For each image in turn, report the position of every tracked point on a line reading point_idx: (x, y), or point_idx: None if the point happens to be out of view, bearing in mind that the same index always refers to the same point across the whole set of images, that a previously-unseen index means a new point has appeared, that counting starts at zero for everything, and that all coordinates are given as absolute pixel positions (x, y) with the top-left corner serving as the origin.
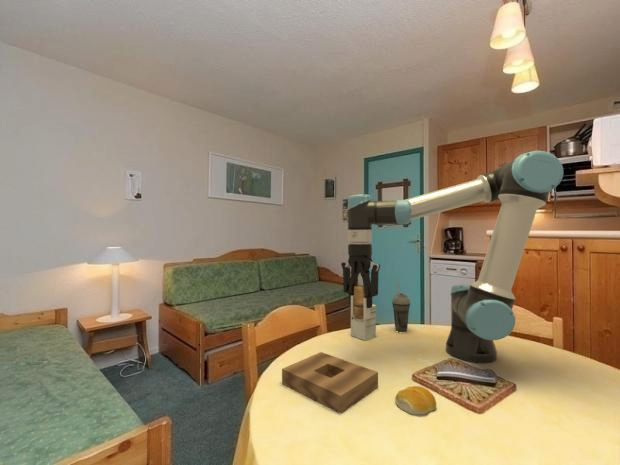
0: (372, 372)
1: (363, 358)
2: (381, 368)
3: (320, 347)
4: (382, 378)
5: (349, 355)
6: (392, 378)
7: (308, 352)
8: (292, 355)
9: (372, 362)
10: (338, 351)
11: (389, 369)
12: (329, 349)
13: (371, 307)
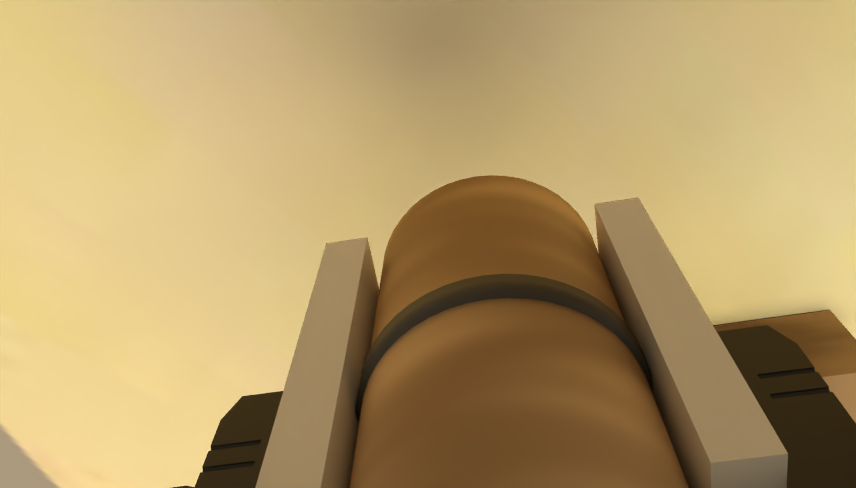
0: (851, 401)
1: (445, 29)
2: (690, 64)
3: (6, 171)
4: (789, 194)
5: (314, 85)
6: (850, 136)
7: (69, 316)
8: (68, 431)
9: (560, 30)
10: (178, 101)
11: (753, 23)
12: (92, 136)
13: (768, 337)
